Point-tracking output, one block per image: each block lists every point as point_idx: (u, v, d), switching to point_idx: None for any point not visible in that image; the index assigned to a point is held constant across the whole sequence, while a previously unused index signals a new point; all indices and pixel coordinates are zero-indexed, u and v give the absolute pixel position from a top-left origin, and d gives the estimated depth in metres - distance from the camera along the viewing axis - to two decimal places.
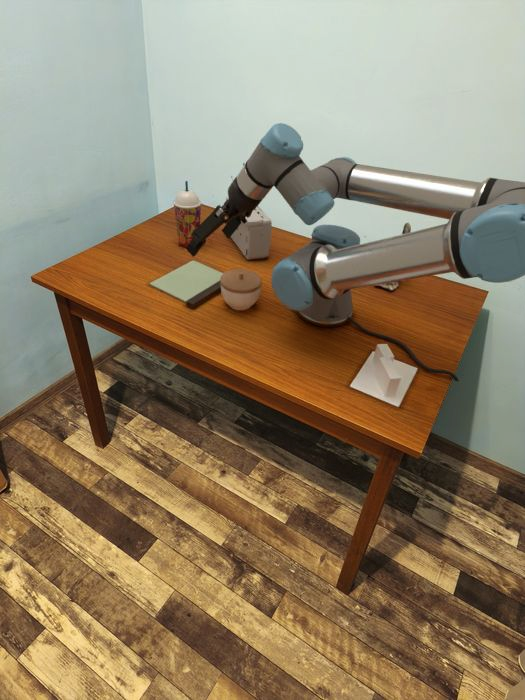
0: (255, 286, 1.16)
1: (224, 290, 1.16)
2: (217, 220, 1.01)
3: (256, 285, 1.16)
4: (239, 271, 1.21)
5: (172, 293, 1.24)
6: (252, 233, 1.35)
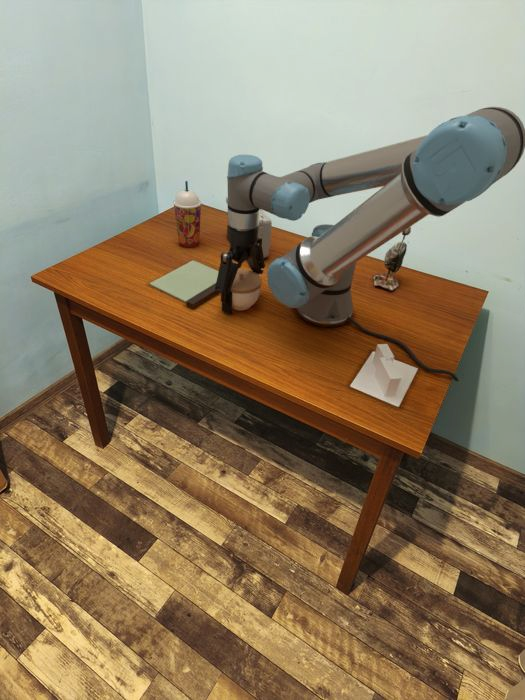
0: (255, 286, 1.16)
1: None
2: (227, 265, 1.09)
3: (256, 285, 1.16)
4: (239, 271, 1.21)
5: (172, 293, 1.24)
6: None
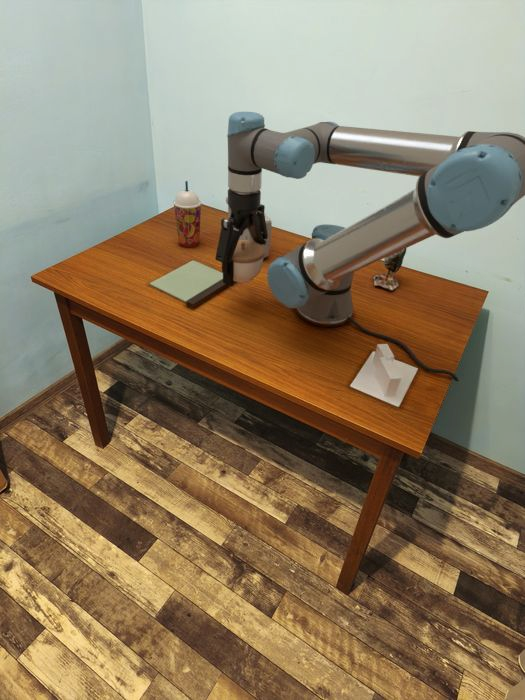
0: (258, 256, 1.10)
1: None
2: (228, 232, 1.03)
3: (259, 255, 1.10)
4: (241, 242, 1.15)
5: (172, 293, 1.24)
6: None
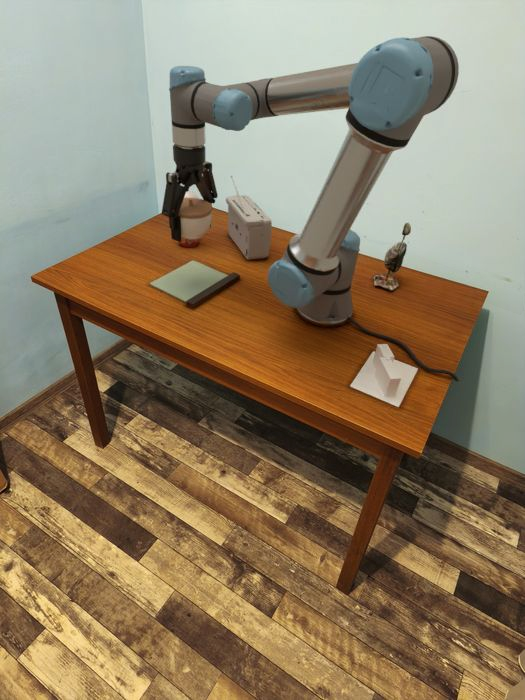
0: (204, 212, 1.13)
1: None
2: (172, 186, 1.06)
3: (205, 211, 1.14)
4: None
5: (172, 293, 1.24)
6: (252, 233, 1.35)
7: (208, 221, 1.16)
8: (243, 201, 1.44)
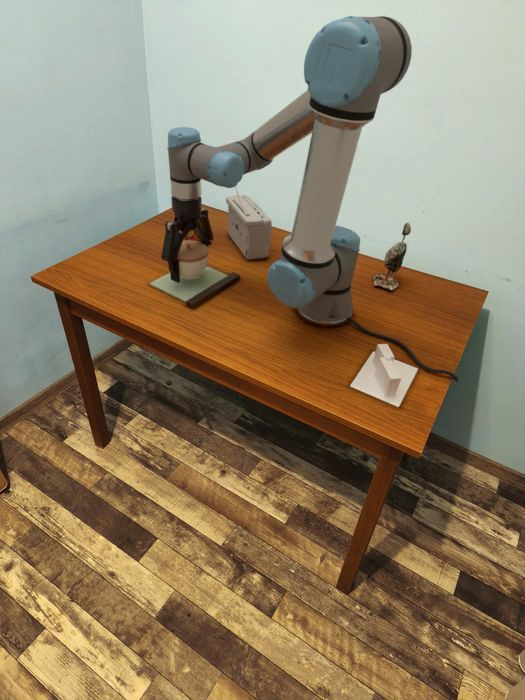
0: (201, 255, 1.22)
1: None
2: (171, 234, 1.15)
3: (202, 254, 1.22)
4: (188, 242, 1.27)
5: (172, 293, 1.24)
6: (252, 233, 1.35)
7: (204, 263, 1.24)
8: (243, 201, 1.44)
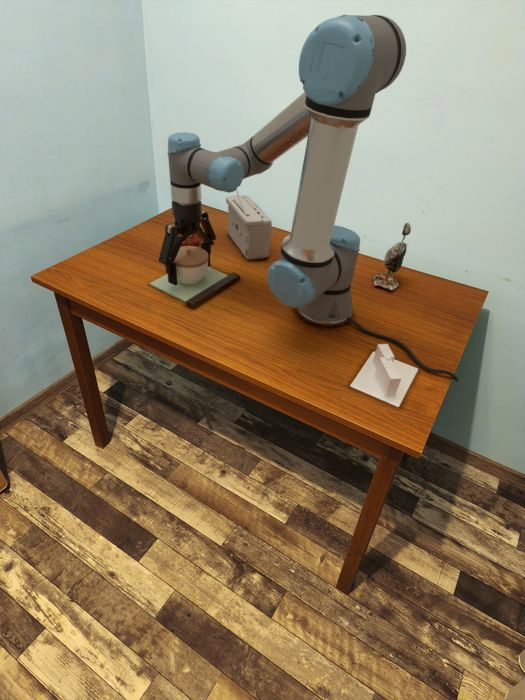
0: (201, 261, 1.23)
1: None
2: (171, 236, 1.15)
3: (202, 260, 1.23)
4: (188, 248, 1.28)
5: (172, 293, 1.24)
6: (252, 233, 1.35)
7: (204, 269, 1.25)
8: (243, 201, 1.44)
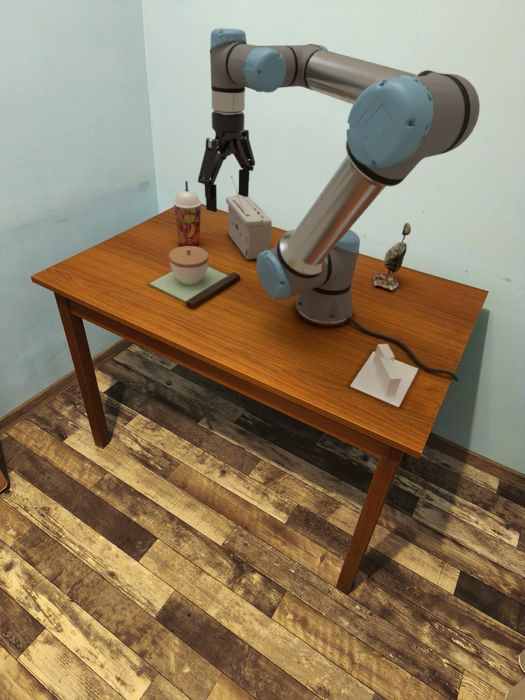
0: (201, 261, 1.23)
1: (172, 265, 1.24)
2: (212, 151, 1.04)
3: (202, 260, 1.23)
4: (188, 248, 1.28)
5: (172, 293, 1.24)
6: (252, 233, 1.35)
7: (204, 269, 1.25)
8: (243, 201, 1.44)
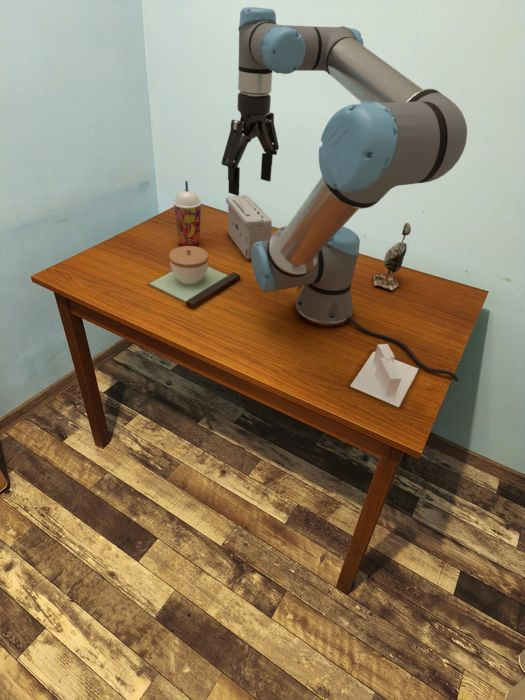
0: (201, 261, 1.23)
1: (172, 265, 1.24)
2: (237, 133, 1.03)
3: (202, 260, 1.23)
4: (188, 248, 1.28)
5: (172, 293, 1.24)
6: (252, 233, 1.35)
7: (205, 269, 1.25)
8: (243, 201, 1.44)
